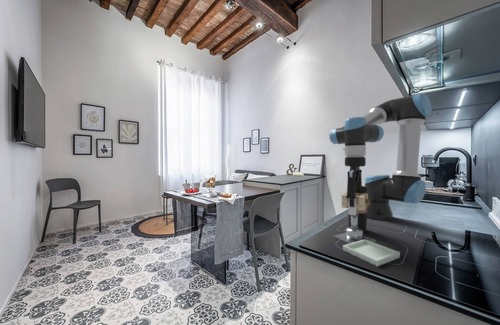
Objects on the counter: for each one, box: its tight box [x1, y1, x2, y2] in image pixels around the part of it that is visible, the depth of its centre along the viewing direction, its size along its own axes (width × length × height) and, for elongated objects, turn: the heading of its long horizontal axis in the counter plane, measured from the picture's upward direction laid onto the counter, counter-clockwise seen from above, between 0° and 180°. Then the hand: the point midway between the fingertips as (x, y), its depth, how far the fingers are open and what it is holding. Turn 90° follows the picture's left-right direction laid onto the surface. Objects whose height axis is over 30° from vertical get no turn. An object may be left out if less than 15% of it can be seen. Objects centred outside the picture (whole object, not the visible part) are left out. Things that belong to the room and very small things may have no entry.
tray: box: [342, 239, 401, 267], centre depth 72 cm, size 12×12×2 cm
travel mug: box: [347, 185, 368, 233], centre depth 96 cm, size 8×8×20 cm
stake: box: [333, 213, 377, 244], centre depth 85 cm, size 11×11×11 cm
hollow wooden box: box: [341, 191, 370, 210], centre depth 84 cm, size 8×9×5 cm
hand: (354, 212), depth 85 cm, fingers closed on hollow wooden box, 8 cm apart
